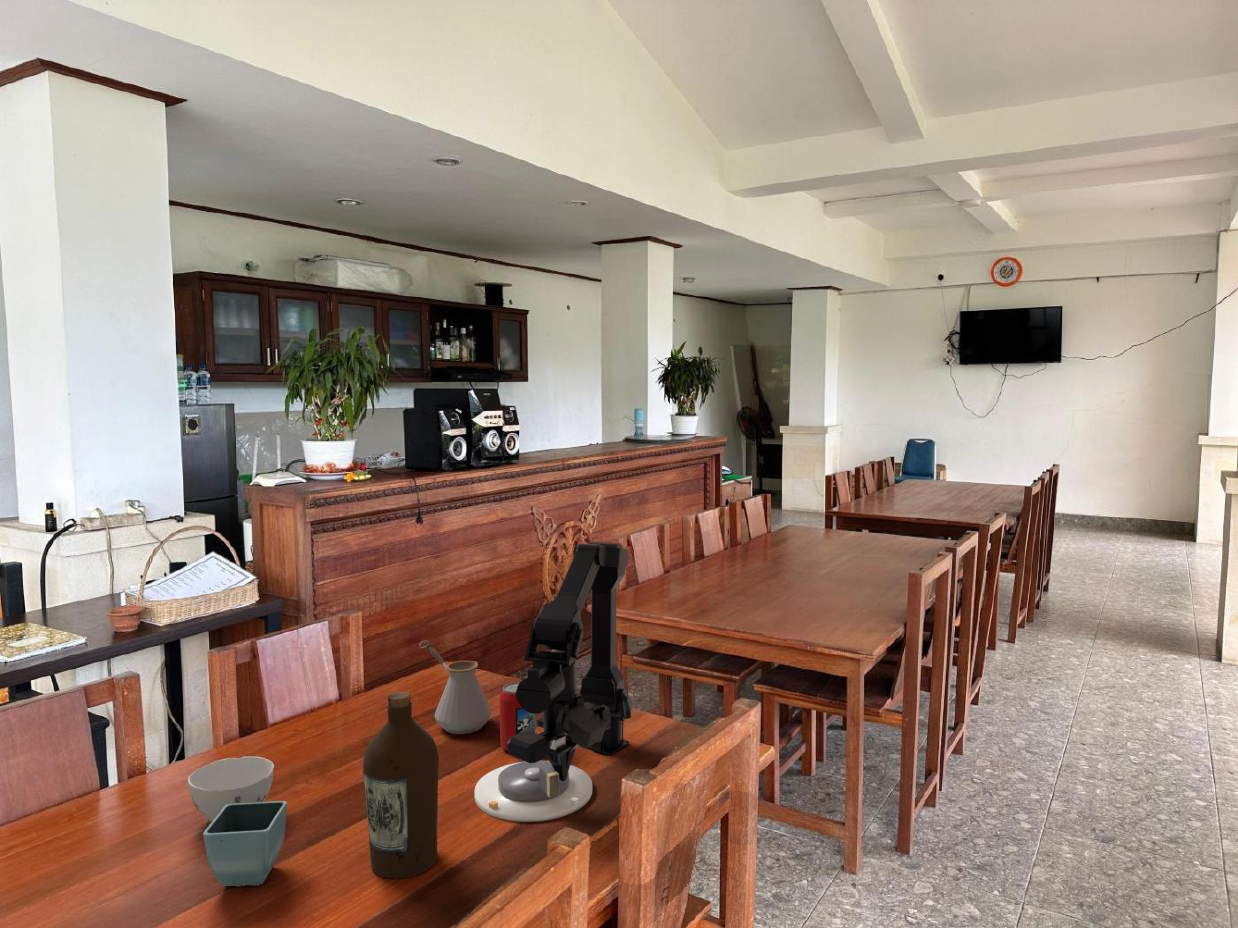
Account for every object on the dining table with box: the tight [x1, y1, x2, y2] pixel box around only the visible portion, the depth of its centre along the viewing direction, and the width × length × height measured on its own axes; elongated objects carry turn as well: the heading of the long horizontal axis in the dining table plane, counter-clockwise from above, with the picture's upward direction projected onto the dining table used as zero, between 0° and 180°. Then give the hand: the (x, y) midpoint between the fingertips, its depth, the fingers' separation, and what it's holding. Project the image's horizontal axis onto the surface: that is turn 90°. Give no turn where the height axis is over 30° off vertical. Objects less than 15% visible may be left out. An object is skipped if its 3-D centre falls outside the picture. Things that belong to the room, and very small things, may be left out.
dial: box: [498, 760, 569, 802], centre depth 143 cm, size 14×12×5 cm
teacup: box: [187, 755, 275, 823], centre depth 137 cm, size 15×12×8 cm
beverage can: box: [499, 681, 537, 752], centre depth 162 cm, size 7×7×12 cm
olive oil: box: [362, 691, 440, 880], centre depth 123 cm, size 11×11×25 cm
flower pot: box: [202, 800, 288, 887], centre depth 120 cm, size 9×9×9 cm
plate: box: [474, 760, 593, 823], centre depth 144 cm, size 20×20×2 cm
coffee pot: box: [418, 639, 493, 735], centre depth 176 cm, size 21×12×15 cm, turn 43°
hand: (562, 780), depth 140 cm, fingers closed
